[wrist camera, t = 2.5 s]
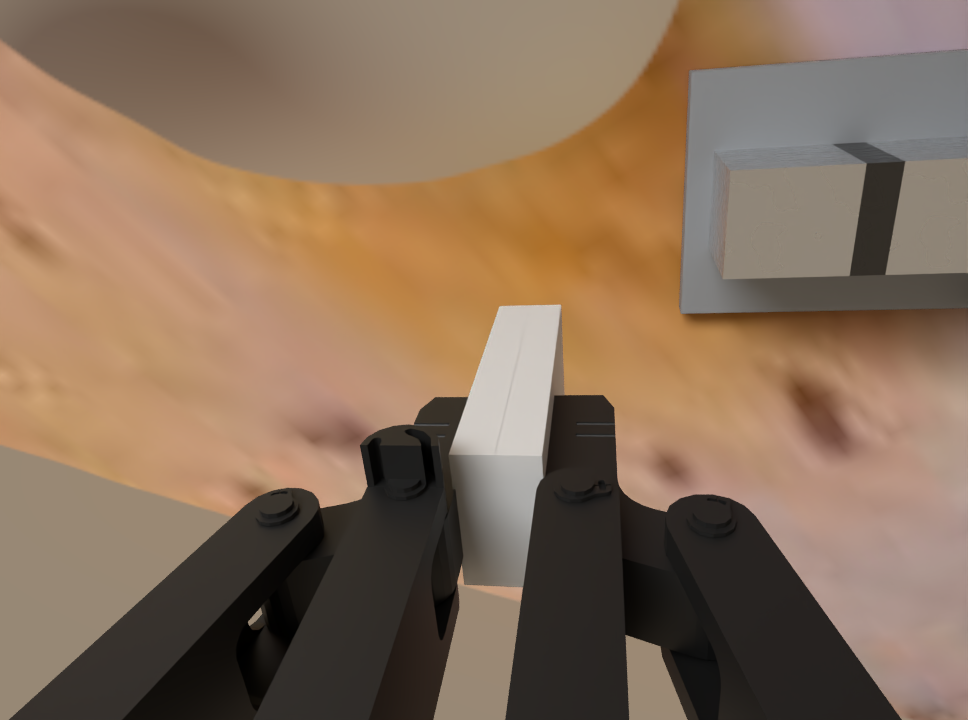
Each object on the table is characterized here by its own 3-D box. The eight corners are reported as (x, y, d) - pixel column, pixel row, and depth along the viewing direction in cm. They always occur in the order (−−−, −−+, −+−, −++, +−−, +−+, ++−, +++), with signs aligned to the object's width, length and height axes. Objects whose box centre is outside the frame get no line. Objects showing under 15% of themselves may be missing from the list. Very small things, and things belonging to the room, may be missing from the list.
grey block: (708, 247, 29) (723, 279, 26) (713, 150, 28) (730, 170, 24) (968, 238, 28) (1022, 271, 24) (991, 134, 26) (1053, 153, 22)
